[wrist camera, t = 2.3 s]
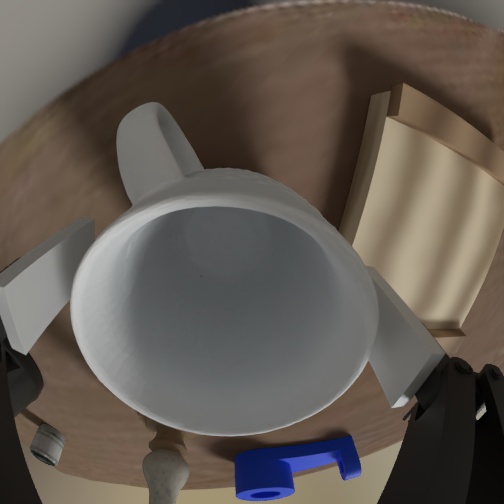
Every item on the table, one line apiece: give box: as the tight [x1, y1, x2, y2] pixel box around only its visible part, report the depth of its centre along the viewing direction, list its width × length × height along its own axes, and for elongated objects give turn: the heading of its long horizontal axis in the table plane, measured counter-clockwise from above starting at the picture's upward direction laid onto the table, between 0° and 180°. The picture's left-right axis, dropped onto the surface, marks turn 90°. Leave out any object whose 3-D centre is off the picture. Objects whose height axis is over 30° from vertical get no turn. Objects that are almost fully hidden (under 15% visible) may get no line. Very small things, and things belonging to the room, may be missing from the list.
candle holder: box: [139, 412, 200, 504], centre depth 20 cm, size 9×9×20 cm
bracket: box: [234, 436, 361, 501], centre depth 33 cm, size 20×9×8 cm, turn 98°
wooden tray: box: [338, 83, 504, 354], centre depth 20 cm, size 18×21×4 cm
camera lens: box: [30, 424, 65, 466], centre depth 30 cm, size 6×6×8 cm
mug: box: [70, 102, 379, 436], centre depth 14 cm, size 15×11×13 cm
